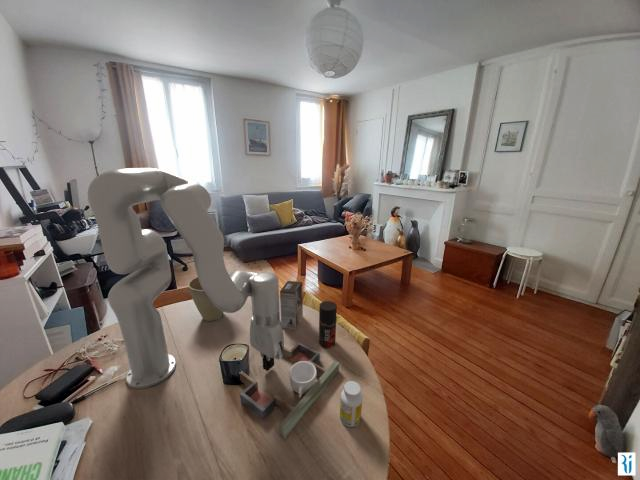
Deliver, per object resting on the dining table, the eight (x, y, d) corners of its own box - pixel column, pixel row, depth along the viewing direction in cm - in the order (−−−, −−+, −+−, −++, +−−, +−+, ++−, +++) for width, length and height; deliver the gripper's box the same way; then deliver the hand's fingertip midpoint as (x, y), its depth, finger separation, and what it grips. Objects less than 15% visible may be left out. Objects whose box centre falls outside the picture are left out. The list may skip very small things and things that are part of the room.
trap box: (217, 384, 73) (216, 375, 72) (277, 338, 93) (277, 331, 92) (285, 438, 59) (284, 428, 58) (338, 370, 79) (339, 362, 78)
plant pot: (203, 332, 95) (197, 294, 91) (187, 316, 105) (182, 281, 100) (239, 316, 106) (236, 281, 101) (222, 302, 115) (218, 270, 111)
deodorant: (321, 349, 88) (322, 311, 83) (316, 338, 93) (317, 302, 89) (337, 346, 89) (339, 309, 85) (332, 335, 95) (333, 300, 90)
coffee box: (288, 314, 107) (287, 279, 102) (303, 316, 106) (302, 281, 101) (280, 327, 99) (279, 290, 94) (296, 330, 97) (296, 292, 93)
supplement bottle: (341, 428, 62) (343, 398, 59) (337, 408, 67) (339, 379, 64) (363, 426, 62) (365, 396, 59) (358, 406, 67) (360, 377, 64)
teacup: (292, 374, 77) (292, 360, 76) (317, 376, 77) (317, 362, 75) (285, 404, 68) (284, 388, 66) (314, 407, 67) (314, 391, 65)
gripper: (238, 312, 74) (242, 363, 79) (275, 332, 66) (277, 387, 71) (258, 301, 80) (261, 349, 85) (294, 318, 72) (295, 370, 77)
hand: (268, 367), depth 78 cm, fingers closed
